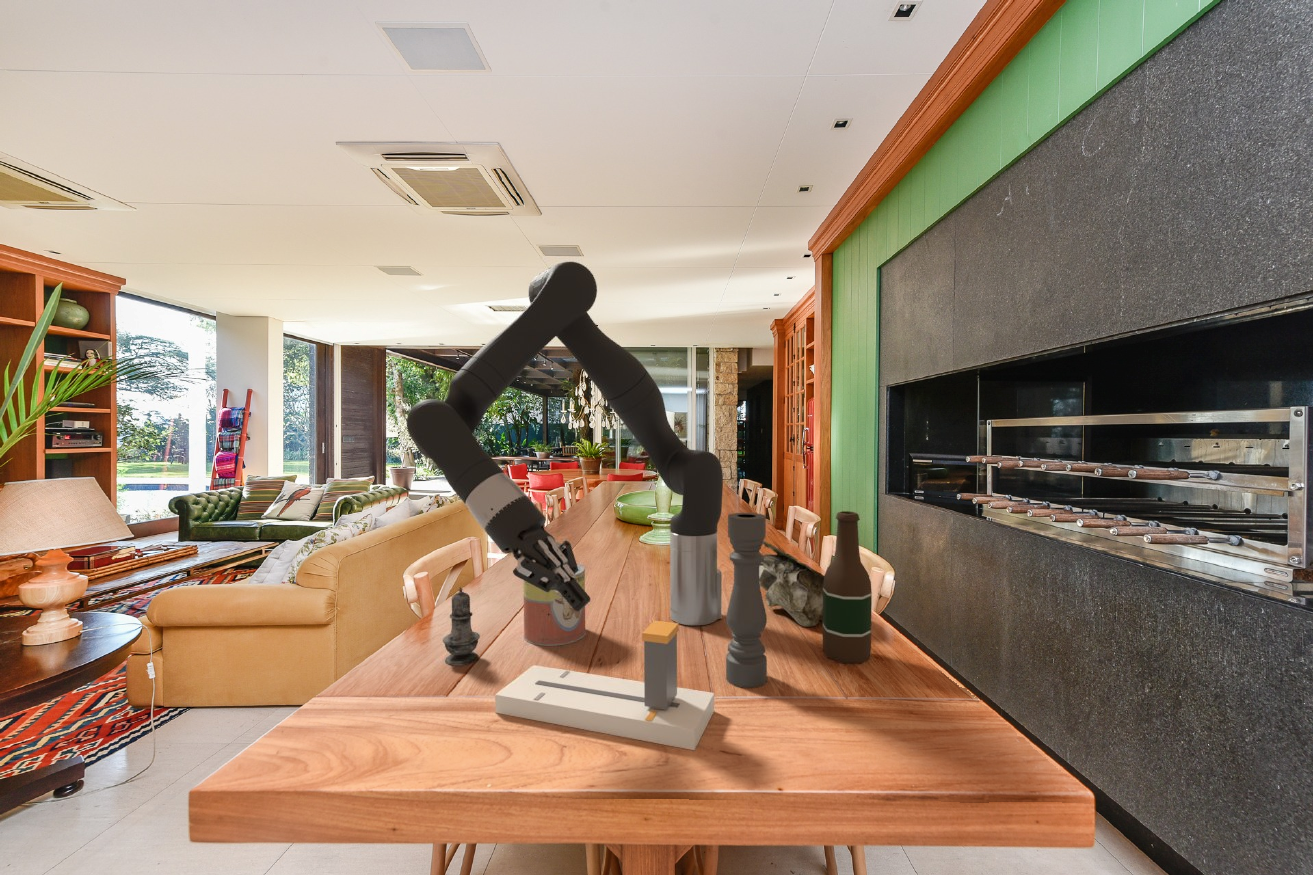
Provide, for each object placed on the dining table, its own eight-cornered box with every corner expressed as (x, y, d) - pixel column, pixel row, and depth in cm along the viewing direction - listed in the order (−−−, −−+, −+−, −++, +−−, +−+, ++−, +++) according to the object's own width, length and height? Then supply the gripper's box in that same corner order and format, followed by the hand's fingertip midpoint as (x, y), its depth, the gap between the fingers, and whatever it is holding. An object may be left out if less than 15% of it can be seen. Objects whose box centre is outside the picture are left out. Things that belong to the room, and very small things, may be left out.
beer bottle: (873, 650, 102) (874, 510, 101) (868, 668, 95) (870, 517, 94) (826, 643, 105) (827, 507, 104) (818, 659, 98) (819, 514, 97)
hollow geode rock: (767, 607, 139) (723, 563, 137) (805, 568, 140) (762, 523, 138) (816, 652, 111) (761, 596, 110) (863, 602, 112) (809, 546, 111)
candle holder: (769, 672, 93) (770, 513, 92) (763, 690, 87) (764, 520, 86) (730, 667, 95) (730, 511, 94) (721, 684, 89) (721, 518, 88)
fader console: (495, 712, 81) (495, 693, 81) (533, 681, 91) (533, 664, 91) (694, 750, 72) (694, 729, 72) (714, 710, 81) (714, 692, 81)
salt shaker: (469, 667, 96) (467, 593, 95) (435, 664, 97) (434, 591, 96) (486, 653, 101) (485, 583, 101) (455, 650, 103) (453, 581, 102)
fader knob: (642, 706, 77) (642, 632, 76) (654, 690, 81) (654, 620, 81) (667, 710, 76) (667, 636, 75) (678, 693, 80) (678, 623, 80)
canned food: (544, 651, 102) (543, 581, 102) (512, 633, 111) (511, 569, 110) (597, 634, 110) (597, 570, 109) (564, 619, 118) (563, 558, 118)
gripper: (494, 501, 78) (580, 603, 74) (545, 488, 90) (620, 575, 87) (460, 539, 80) (543, 640, 76) (515, 521, 92) (588, 608, 89)
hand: (584, 605), depth 82 cm, fingers closed
